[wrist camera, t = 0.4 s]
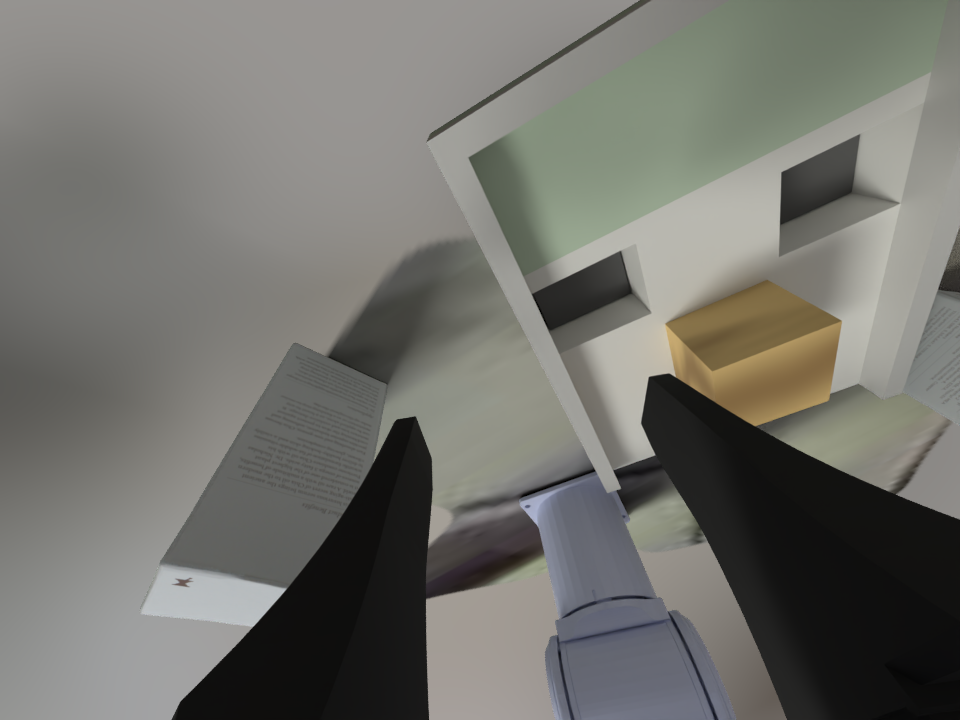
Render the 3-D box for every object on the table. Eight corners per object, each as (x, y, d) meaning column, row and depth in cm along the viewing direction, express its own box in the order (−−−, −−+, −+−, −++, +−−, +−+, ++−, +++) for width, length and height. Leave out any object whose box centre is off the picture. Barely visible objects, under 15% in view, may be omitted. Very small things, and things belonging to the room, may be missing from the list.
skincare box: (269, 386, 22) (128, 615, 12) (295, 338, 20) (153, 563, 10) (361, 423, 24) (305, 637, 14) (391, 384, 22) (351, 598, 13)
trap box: (840, 353, 24) (901, 393, 21) (588, 447, 28) (607, 493, 24) (935, -188, 11) (1146, -312, 7) (430, 133, 14) (426, 142, 11)
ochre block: (766, 352, 20) (828, 400, 17) (678, 386, 21) (720, 438, 18) (767, 279, 17) (842, 320, 14) (664, 323, 18) (712, 371, 15)
